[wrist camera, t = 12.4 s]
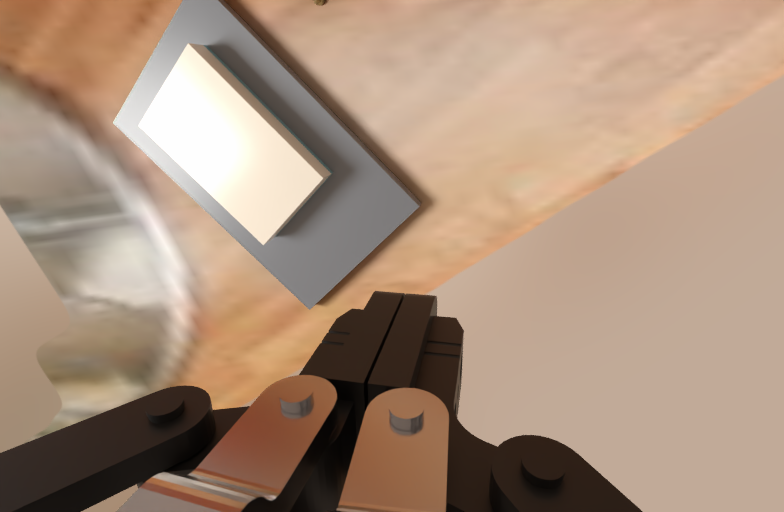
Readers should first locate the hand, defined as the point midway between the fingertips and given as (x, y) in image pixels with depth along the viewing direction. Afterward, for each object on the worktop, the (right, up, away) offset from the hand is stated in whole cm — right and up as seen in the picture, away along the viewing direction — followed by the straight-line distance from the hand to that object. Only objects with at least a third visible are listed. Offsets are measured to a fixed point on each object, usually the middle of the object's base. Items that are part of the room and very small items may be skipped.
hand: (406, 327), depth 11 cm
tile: (-9, +6, +29) cm, 31 cm away
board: (-12, +11, +31) cm, 35 cm away
